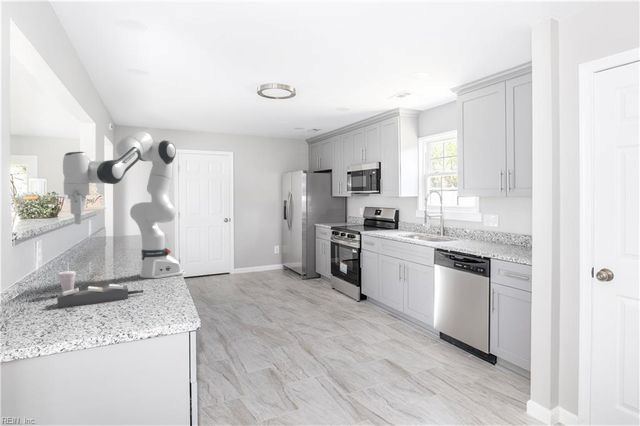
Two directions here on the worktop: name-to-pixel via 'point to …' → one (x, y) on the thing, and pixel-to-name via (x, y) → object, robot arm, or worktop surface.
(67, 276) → the smoothie
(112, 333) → the worktop surface
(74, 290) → the block
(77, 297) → the power strip
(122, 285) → the plate
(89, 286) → the rocker
